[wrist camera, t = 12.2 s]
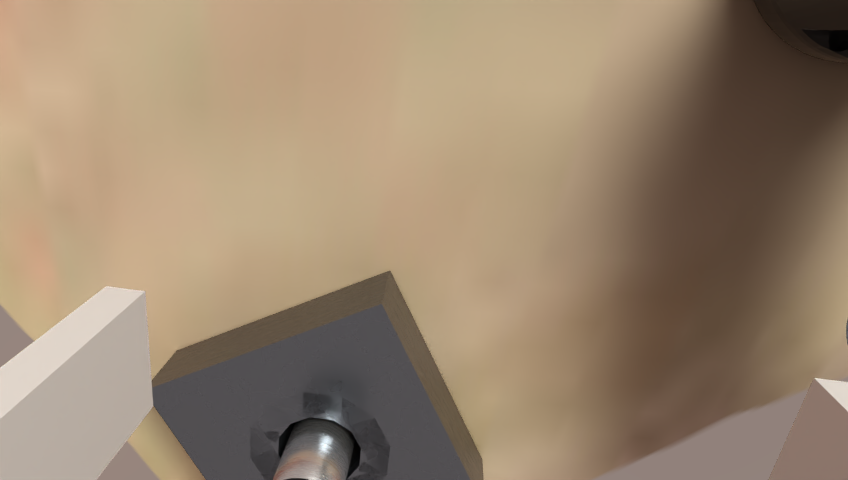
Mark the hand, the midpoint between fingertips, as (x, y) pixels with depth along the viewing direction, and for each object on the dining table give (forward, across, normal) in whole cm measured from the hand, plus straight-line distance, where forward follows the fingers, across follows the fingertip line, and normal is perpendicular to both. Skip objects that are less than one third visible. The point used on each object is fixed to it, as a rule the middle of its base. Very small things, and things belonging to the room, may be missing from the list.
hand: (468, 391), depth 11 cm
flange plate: (+27, -7, -22) cm, 35 cm away
